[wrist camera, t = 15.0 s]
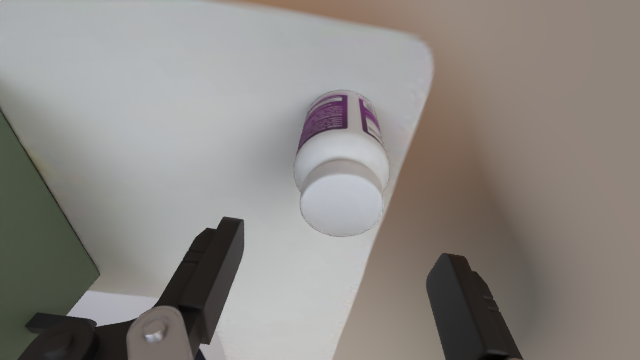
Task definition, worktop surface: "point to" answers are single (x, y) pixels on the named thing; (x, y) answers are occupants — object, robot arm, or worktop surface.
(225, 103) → the worktop surface
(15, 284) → the cupboard door
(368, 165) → the pill bottle
